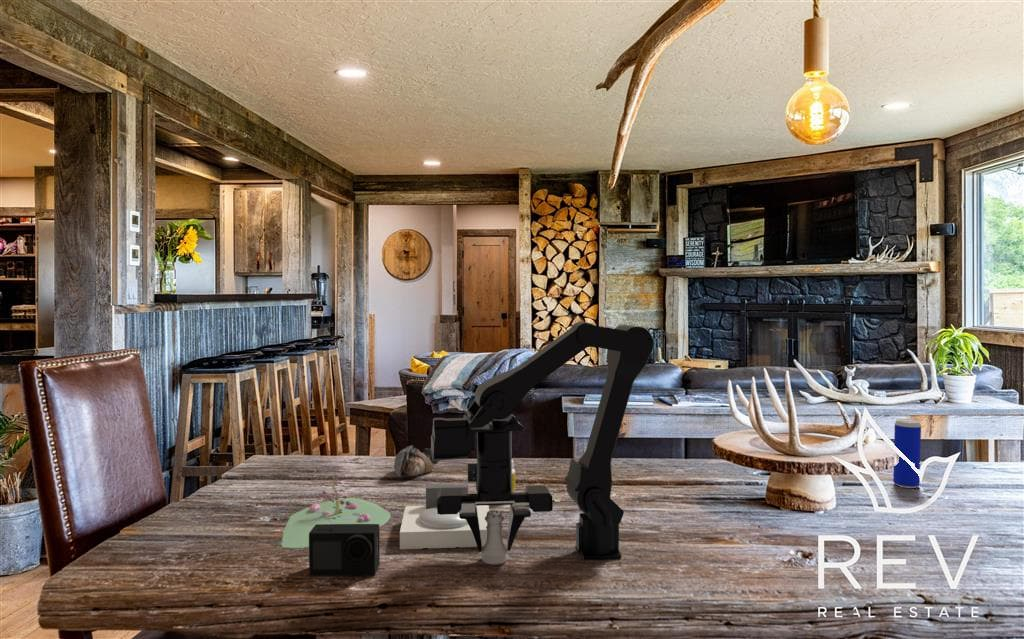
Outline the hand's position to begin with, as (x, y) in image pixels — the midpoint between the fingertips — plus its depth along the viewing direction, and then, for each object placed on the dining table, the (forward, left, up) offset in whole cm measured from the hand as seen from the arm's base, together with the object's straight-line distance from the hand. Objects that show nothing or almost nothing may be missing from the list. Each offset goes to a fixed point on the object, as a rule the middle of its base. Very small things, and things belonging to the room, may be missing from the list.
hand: (494, 550), depth 112 cm
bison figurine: (+15, -53, -2) cm, 55 cm away
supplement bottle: (-4, -32, -2) cm, 32 cm away
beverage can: (-96, -34, -2) cm, 102 cm away
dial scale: (+8, -13, -2) cm, 15 cm away
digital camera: (+24, +3, -2) cm, 24 cm away
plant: (+30, -20, -2) cm, 36 cm away
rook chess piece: (0, 0, -2) cm, 2 cm away
